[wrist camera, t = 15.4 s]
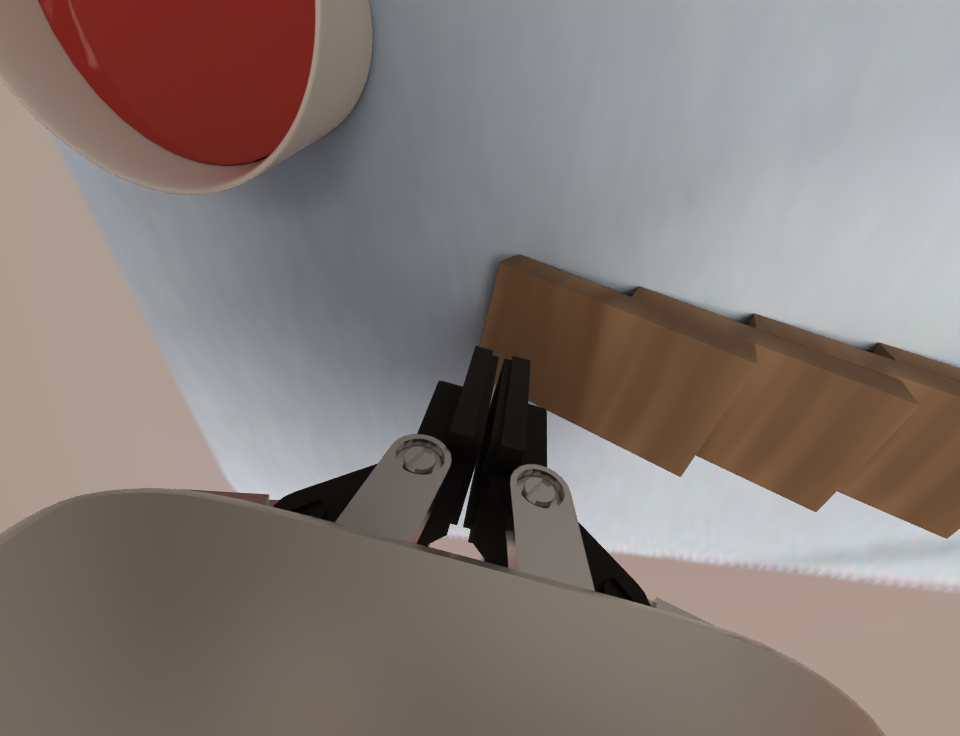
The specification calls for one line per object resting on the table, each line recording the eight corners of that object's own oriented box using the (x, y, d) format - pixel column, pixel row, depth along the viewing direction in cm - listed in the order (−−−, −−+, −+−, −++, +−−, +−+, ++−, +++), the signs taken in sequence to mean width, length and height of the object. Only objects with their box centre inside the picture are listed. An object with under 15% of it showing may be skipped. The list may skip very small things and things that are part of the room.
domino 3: (694, 429, 18) (946, 538, 15) (756, 327, 15) (1075, 436, 13) (696, 409, 19) (928, 506, 17) (753, 313, 17) (1040, 408, 14)
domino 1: (472, 372, 18) (680, 477, 15) (499, 262, 15) (757, 363, 13) (491, 357, 19) (684, 450, 17) (519, 254, 17) (755, 343, 14)
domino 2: (585, 403, 18) (816, 512, 15) (630, 297, 15) (920, 405, 13) (596, 385, 20) (809, 482, 17) (639, 286, 17) (901, 381, 14)
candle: (463, 18, 13) (407, -51, 8) (315, 219, 17) (211, 264, 12) (216, -292, 11) (-111, -700, 5) (109, 28, 15) (-141, -25, 9)
